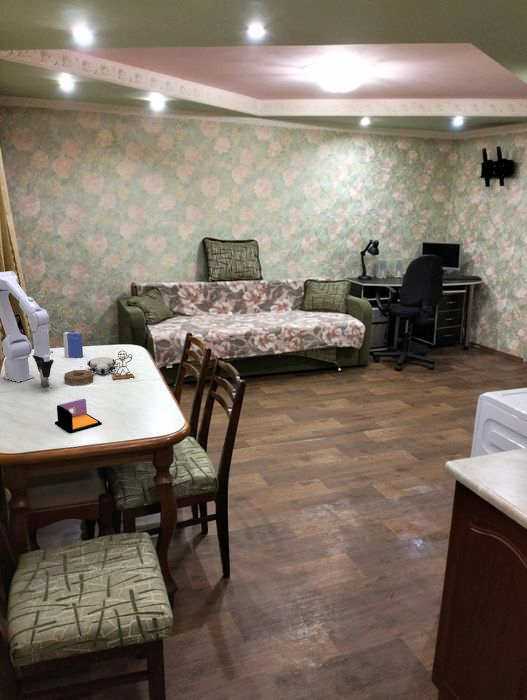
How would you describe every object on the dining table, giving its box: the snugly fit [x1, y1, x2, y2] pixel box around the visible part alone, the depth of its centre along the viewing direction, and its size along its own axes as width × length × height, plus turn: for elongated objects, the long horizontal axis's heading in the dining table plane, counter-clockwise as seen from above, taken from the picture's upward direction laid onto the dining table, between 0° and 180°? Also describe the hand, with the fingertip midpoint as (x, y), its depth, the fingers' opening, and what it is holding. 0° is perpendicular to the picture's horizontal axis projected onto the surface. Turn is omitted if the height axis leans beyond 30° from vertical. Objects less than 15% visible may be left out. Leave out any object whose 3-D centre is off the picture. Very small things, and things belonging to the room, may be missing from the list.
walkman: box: [62, 331, 84, 359], centre depth 255 cm, size 8×3×12 cm, turn 85°
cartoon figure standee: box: [111, 349, 135, 381], centre depth 228 cm, size 9×4×12 cm, turn 112°
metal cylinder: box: [39, 367, 50, 389], centre depth 216 cm, size 3×3×8 cm
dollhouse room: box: [54, 398, 103, 434], centre depth 182 cm, size 12×12×7 cm
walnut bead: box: [63, 369, 94, 387], centre depth 224 cm, size 11×11×3 cm
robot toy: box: [86, 356, 118, 375], centre depth 237 cm, size 12×4×15 cm
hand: (44, 374), depth 215 cm, fingers open, 7 cm apart
